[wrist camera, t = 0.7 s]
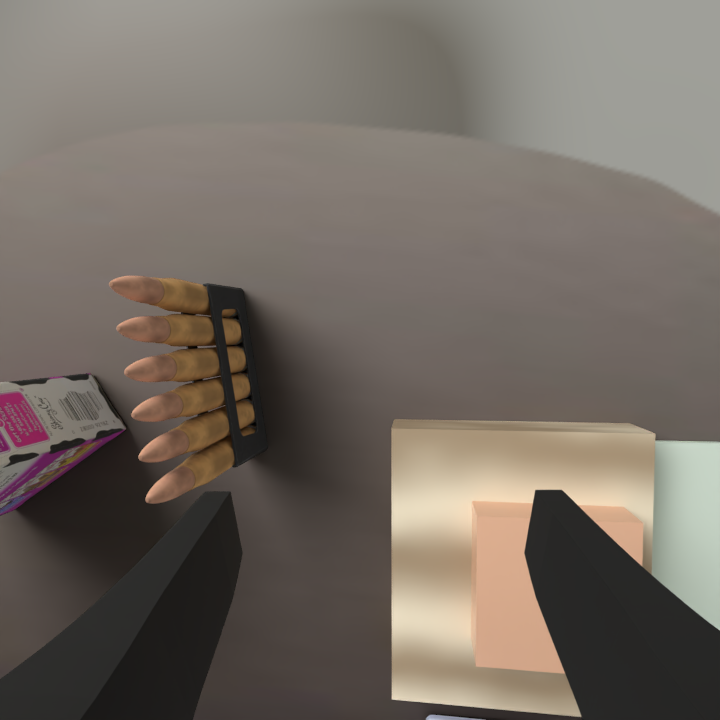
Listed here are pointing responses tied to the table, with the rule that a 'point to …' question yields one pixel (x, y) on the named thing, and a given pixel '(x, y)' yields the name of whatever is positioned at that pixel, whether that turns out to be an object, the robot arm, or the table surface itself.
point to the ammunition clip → (196, 379)
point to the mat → (688, 524)
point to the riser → (454, 540)
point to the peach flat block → (522, 584)
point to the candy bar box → (49, 431)
